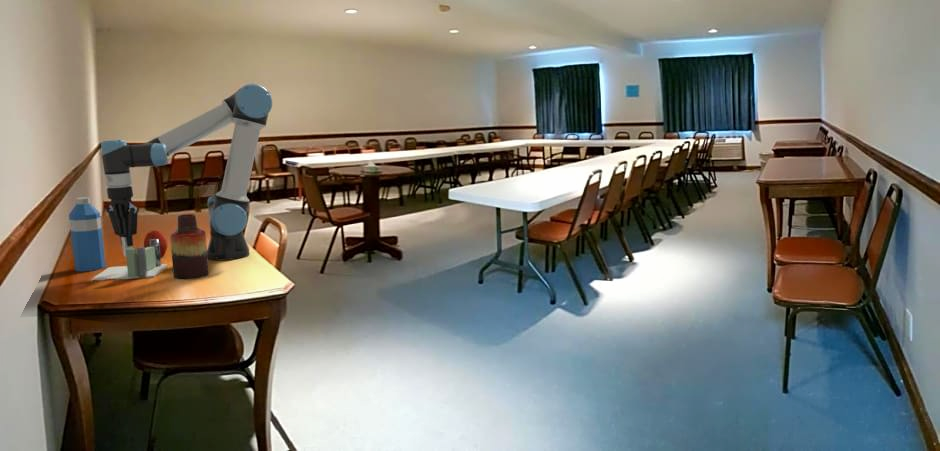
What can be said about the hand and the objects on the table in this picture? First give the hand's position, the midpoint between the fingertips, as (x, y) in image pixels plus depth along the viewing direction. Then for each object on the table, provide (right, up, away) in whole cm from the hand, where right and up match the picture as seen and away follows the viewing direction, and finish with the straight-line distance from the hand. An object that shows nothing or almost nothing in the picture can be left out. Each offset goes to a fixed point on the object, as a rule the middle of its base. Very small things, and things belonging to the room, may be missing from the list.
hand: (128, 255), depth 222 cm
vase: (+23, -7, -5) cm, 25 cm away
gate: (+6, -5, -2) cm, 8 cm away
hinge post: (+5, -5, +8) cm, 11 cm away
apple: (-4, -2, +27) cm, 27 cm away
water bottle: (-18, -5, +9) cm, 21 cm away
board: (0, -6, +1) cm, 6 cm away
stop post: (+8, -7, -6) cm, 12 cm away
